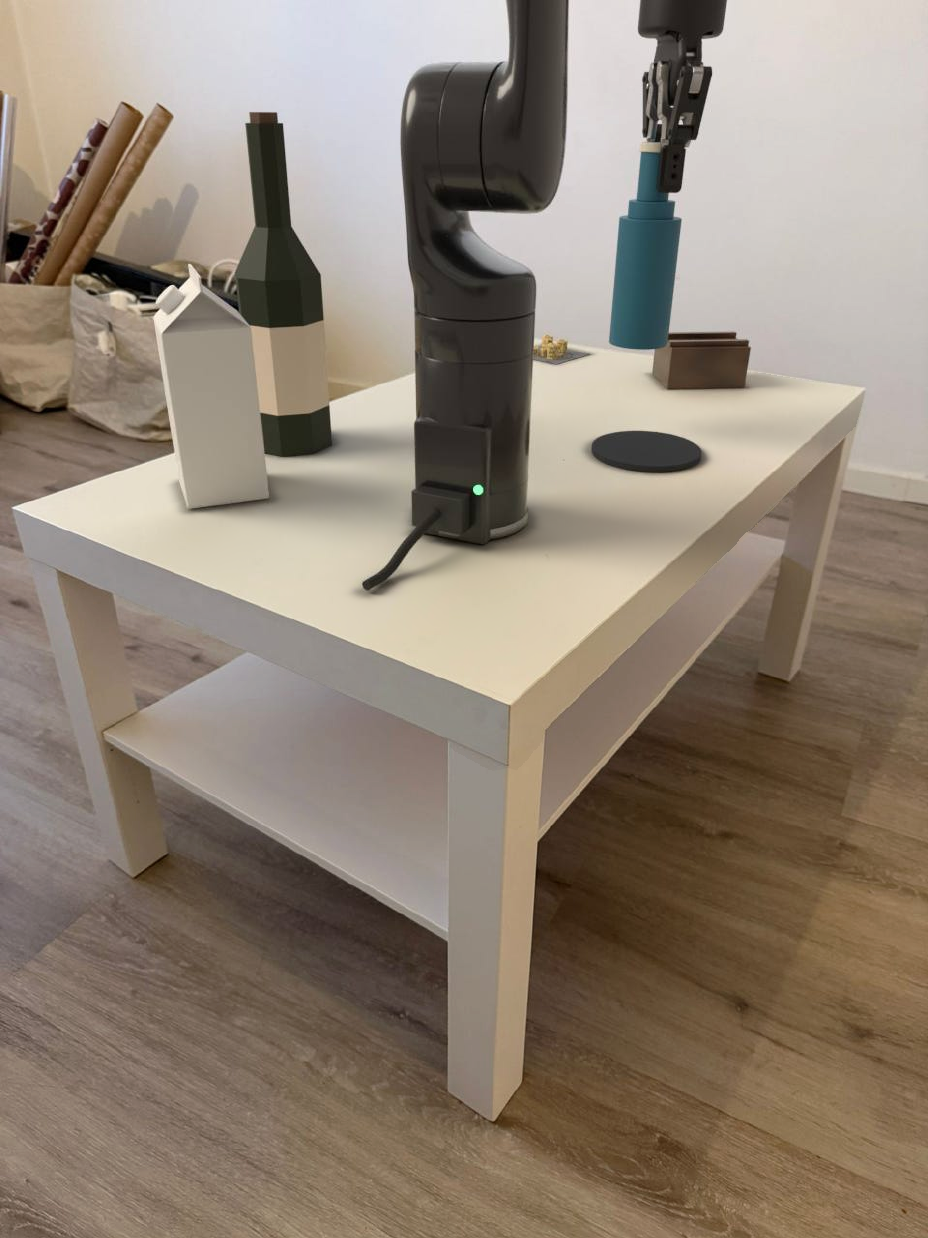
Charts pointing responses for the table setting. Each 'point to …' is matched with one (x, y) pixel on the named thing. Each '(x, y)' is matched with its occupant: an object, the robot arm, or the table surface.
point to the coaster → (646, 451)
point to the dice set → (555, 351)
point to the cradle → (702, 360)
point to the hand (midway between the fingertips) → (662, 189)
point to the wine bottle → (282, 306)
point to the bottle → (645, 262)
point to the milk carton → (210, 396)
